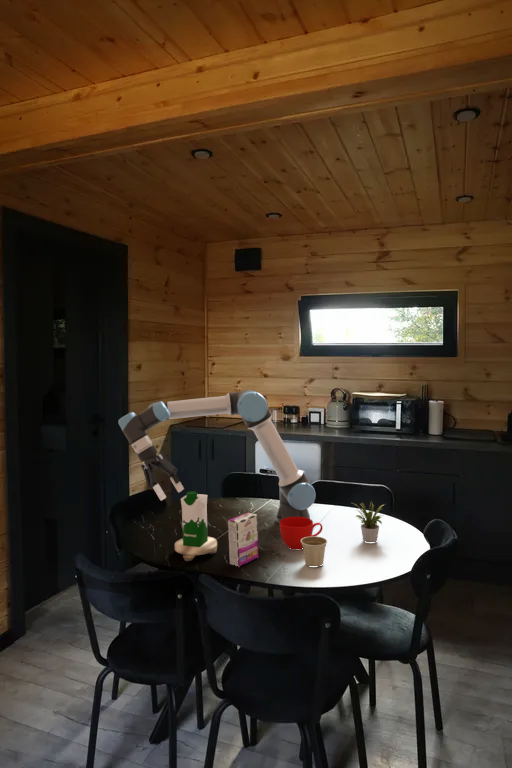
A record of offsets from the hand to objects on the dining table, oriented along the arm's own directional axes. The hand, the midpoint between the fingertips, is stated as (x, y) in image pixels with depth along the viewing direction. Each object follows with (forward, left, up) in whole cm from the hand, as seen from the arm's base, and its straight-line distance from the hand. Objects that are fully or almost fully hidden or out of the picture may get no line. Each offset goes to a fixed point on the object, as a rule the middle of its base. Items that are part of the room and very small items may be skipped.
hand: (172, 495), depth 208 cm
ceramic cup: (-49, -13, -20) cm, 55 cm away
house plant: (-72, -26, -20) cm, 79 cm away
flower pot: (-58, +2, -20) cm, 62 cm away
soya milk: (-13, +6, -16) cm, 22 cm away
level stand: (-13, +6, -20) cm, 25 cm away
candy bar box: (-33, +7, -20) cm, 39 cm away
